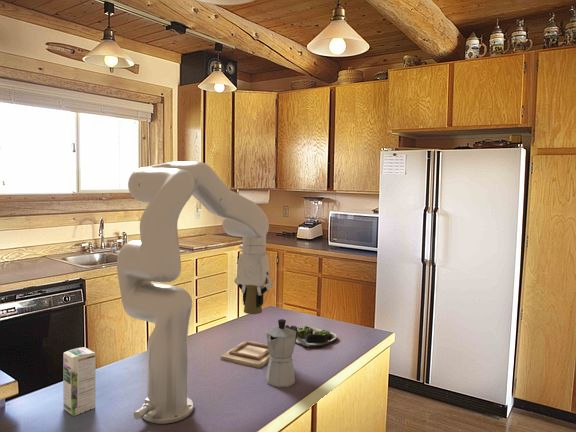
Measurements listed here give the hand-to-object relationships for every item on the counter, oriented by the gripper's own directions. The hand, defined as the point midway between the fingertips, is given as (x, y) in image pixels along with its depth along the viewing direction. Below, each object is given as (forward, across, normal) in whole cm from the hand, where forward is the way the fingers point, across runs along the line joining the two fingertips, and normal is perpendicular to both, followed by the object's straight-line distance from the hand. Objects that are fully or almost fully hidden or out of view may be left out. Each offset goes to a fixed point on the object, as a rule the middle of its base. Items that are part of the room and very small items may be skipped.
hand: (252, 304), depth 147 cm
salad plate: (+18, +12, +23) cm, 31 cm away
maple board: (+17, 0, 0) cm, 17 cm away
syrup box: (+17, -21, -50) cm, 57 cm away
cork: (+2, 0, 0) cm, 2 cm away
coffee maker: (+17, +17, -11) cm, 26 cm away
